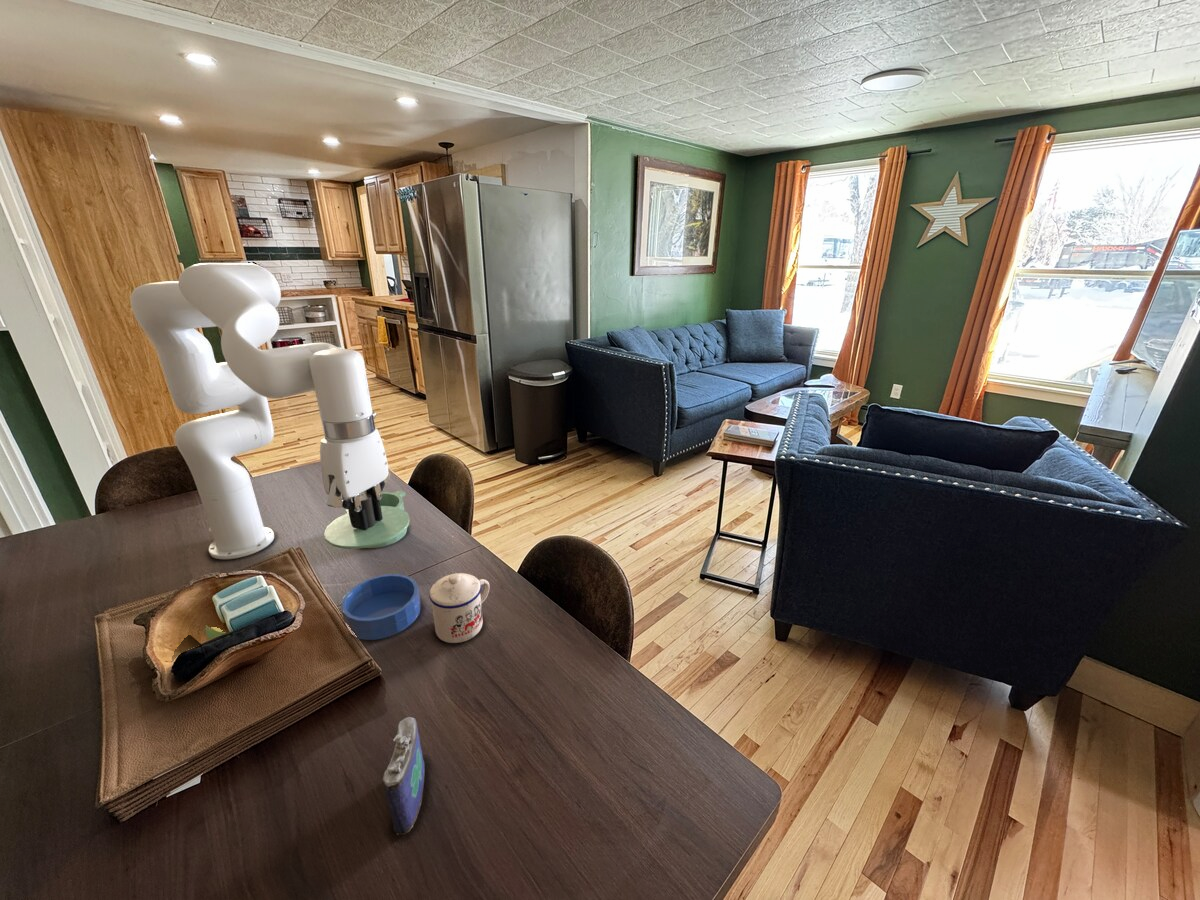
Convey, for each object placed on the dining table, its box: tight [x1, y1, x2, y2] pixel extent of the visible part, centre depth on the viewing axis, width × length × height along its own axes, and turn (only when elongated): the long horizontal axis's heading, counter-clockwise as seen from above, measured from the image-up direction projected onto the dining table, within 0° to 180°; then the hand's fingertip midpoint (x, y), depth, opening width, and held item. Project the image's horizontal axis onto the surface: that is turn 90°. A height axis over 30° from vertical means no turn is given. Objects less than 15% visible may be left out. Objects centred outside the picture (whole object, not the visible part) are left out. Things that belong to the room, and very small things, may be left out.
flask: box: [382, 716, 426, 836], centre depth 59 cm, size 9×3×11 cm, turn 8°
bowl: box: [340, 573, 422, 641], centre depth 91 cm, size 13×13×4 cm
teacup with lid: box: [428, 572, 491, 644], centre depth 88 cm, size 12×9×12 cm
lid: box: [323, 493, 411, 550], centre depth 83 cm, size 14×14×7 cm
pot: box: [345, 490, 408, 549], centre depth 116 cm, size 13×18×8 cm
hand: (367, 522), depth 84 cm, fingers closed on lid, 2 cm apart
